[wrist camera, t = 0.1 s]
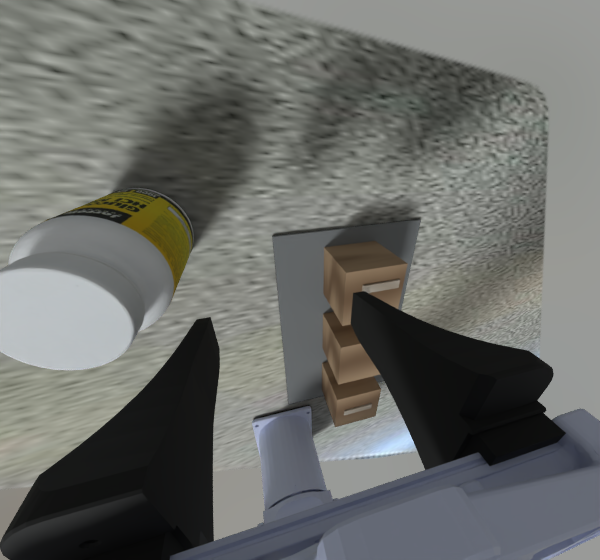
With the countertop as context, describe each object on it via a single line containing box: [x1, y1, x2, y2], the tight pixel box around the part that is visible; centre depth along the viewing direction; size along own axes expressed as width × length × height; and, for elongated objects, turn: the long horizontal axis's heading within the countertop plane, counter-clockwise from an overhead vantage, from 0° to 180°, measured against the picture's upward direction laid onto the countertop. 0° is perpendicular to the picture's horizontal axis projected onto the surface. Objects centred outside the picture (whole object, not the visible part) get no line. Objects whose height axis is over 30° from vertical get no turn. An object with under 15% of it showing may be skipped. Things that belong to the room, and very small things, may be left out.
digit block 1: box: [322, 362, 381, 427], centre depth 29 cm, size 5×5×5 cm
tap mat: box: [272, 219, 421, 404], centre depth 27 cm, size 23×14×1 cm, turn 2°
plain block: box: [322, 312, 380, 385], centre depth 25 cm, size 5×5×5 cm
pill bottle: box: [0, 188, 194, 370], centre depth 13 cm, size 6×6×11 cm
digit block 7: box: [323, 241, 408, 326], centre depth 21 cm, size 5×5×5 cm
